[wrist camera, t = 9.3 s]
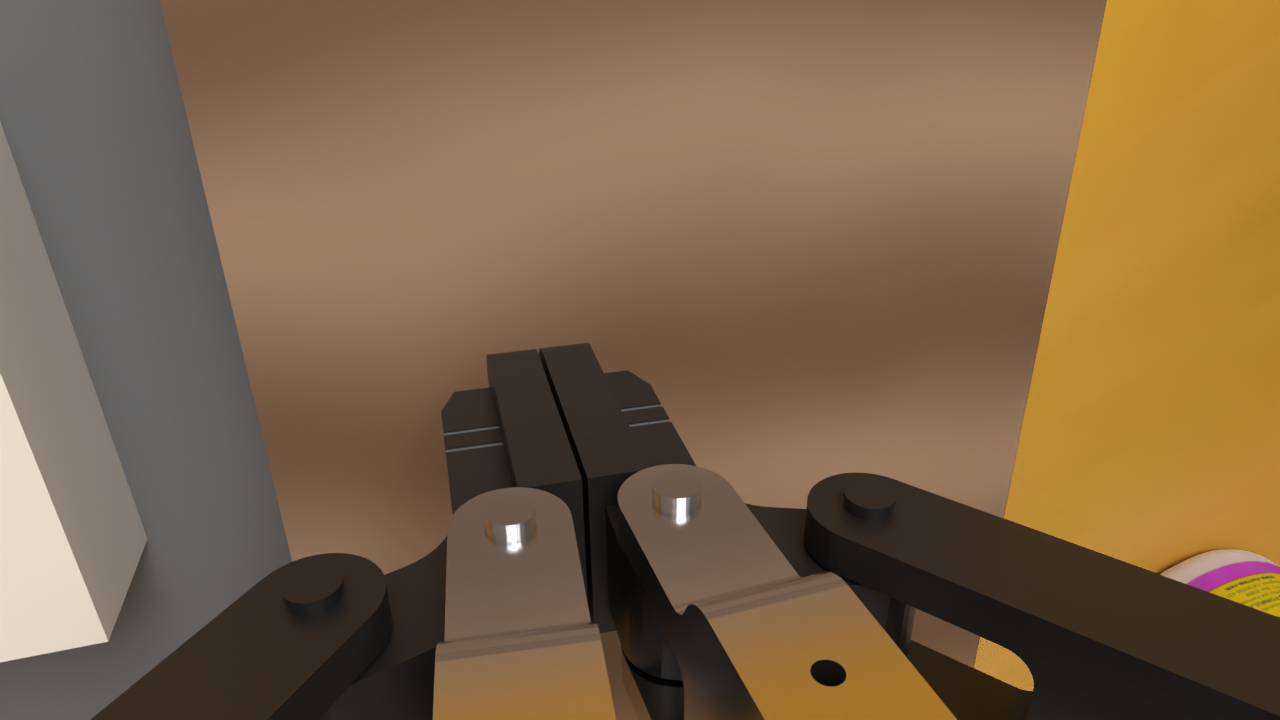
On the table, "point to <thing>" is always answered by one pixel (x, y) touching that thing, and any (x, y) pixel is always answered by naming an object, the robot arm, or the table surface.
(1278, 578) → the supplement bottle
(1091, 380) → the table surface
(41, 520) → the thick cream block
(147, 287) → the mat
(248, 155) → the brown wooden block
